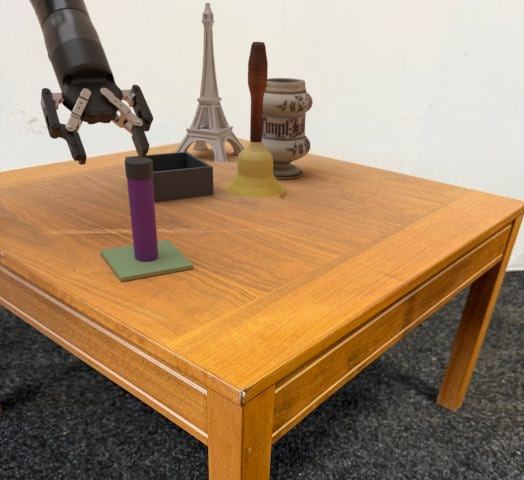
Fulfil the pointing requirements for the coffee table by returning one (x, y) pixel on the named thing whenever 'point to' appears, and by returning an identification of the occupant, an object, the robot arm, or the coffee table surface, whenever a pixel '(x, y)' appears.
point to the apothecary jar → (285, 124)
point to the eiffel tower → (210, 106)
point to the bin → (180, 176)
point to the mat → (132, 269)
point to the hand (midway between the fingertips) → (114, 158)
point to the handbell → (256, 137)
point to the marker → (142, 207)
